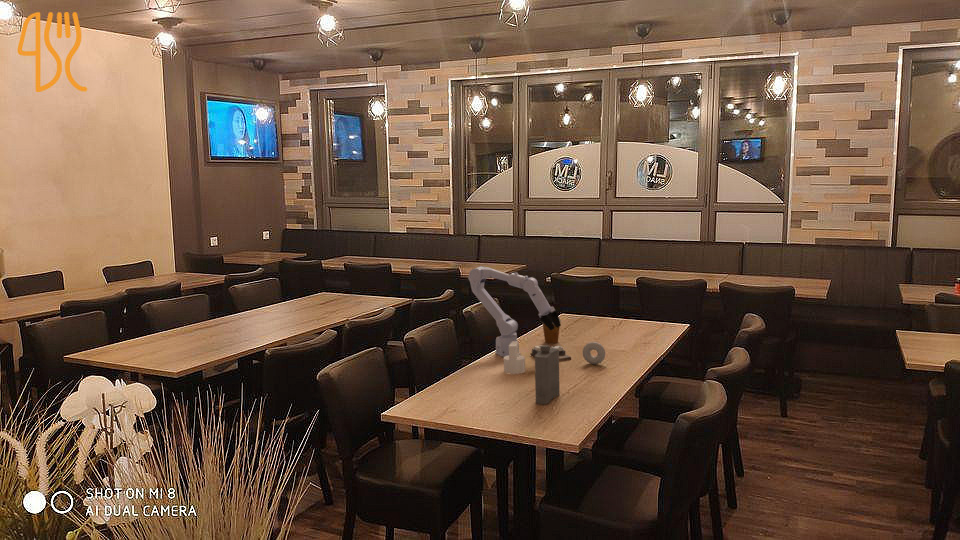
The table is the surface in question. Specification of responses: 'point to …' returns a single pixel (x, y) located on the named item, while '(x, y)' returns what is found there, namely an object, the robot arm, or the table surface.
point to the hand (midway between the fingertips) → (555, 328)
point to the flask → (546, 374)
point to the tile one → (537, 348)
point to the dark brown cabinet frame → (561, 355)
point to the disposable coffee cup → (551, 334)
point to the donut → (589, 357)
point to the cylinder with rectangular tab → (514, 360)
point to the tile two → (558, 348)
